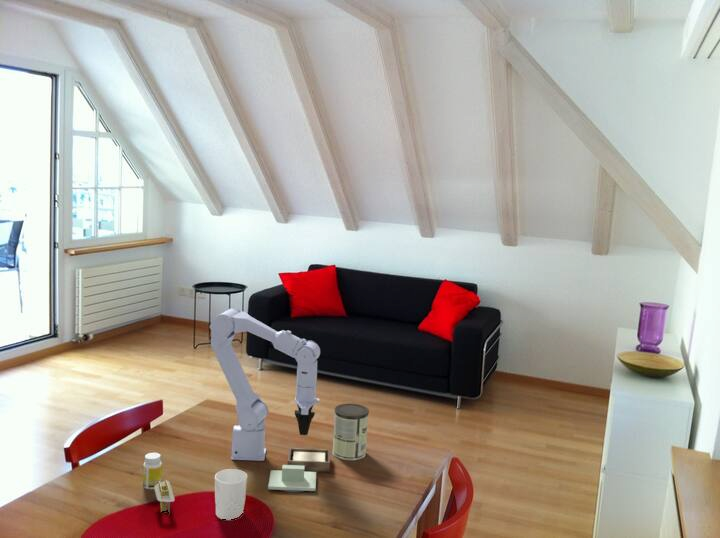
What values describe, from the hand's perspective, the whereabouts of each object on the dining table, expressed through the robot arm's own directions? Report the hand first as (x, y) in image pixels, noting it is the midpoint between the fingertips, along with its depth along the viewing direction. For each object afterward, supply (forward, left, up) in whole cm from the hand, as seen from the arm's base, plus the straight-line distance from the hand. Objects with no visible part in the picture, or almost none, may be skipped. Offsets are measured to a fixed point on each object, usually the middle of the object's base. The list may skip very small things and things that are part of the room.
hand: (303, 429), depth 204 cm
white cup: (-17, -30, -11) cm, 36 cm away
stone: (-2, -13, -10) cm, 17 cm away
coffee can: (+14, +8, -11) cm, 19 cm away
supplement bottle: (-39, -17, -11) cm, 44 cm away
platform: (-34, -28, -11) cm, 45 cm away
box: (+2, -1, -10) cm, 11 cm away
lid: (-2, -13, -10) cm, 16 cm away
